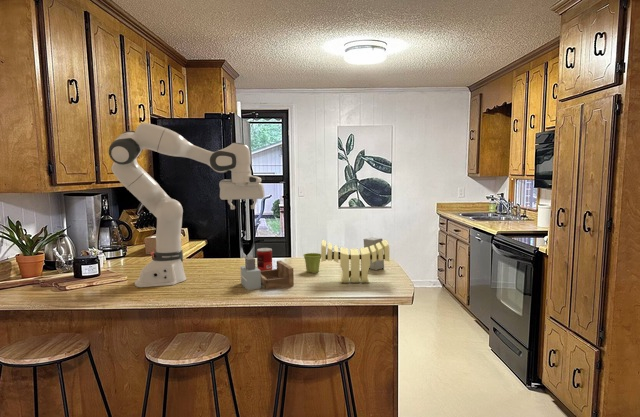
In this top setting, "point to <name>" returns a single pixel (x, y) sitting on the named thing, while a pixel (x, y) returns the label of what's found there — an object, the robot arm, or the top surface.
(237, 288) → the top surface
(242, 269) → the cabinet block
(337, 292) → the top surface
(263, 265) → the canned food
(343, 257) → the slatted curved stool
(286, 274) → the brown wooden frame
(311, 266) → the plant pot
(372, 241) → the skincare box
